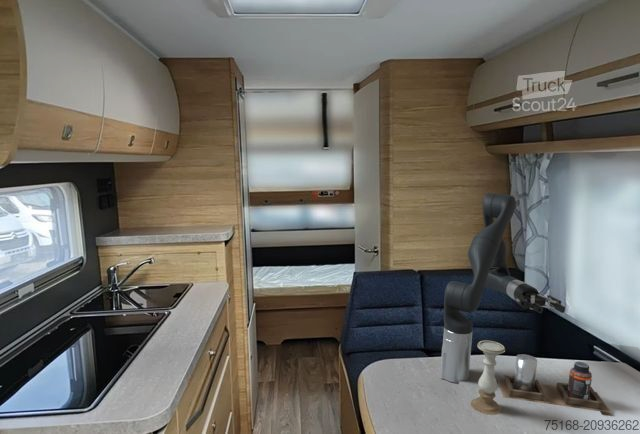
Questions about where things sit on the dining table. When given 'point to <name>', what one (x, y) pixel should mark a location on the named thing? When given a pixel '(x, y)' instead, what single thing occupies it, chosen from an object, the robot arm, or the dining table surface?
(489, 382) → the candle holder
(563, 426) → the dining table surface
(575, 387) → the supplement bottle
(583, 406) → the wooden divided tray
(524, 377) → the can
